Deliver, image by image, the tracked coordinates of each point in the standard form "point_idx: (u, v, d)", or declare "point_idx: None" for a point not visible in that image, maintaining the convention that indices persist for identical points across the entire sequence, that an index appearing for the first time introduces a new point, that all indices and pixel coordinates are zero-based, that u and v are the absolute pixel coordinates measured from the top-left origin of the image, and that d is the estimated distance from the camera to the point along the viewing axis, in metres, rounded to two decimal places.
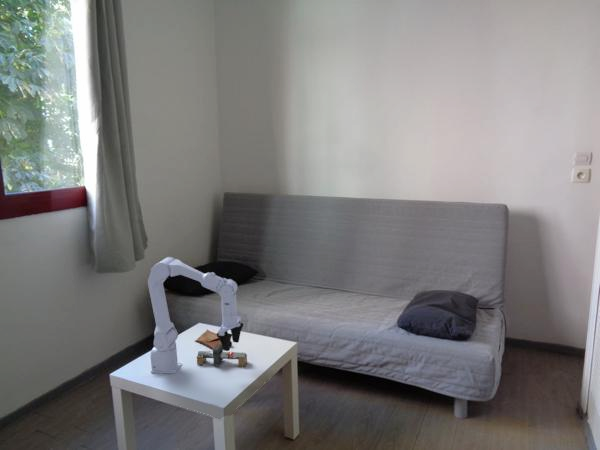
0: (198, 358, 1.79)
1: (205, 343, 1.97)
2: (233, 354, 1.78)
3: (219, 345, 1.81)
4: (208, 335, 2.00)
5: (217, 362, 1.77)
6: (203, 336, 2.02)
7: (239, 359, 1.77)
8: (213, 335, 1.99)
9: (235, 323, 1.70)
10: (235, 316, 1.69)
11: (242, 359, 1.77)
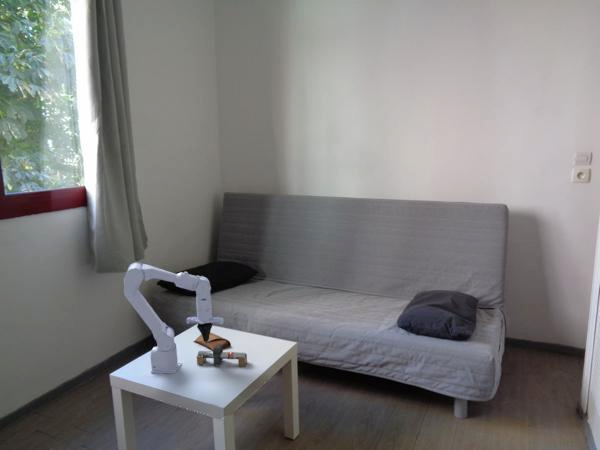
0: (198, 358, 1.79)
1: (203, 343, 1.97)
2: (233, 354, 1.78)
3: (219, 345, 1.81)
4: None
5: (217, 362, 1.77)
6: None
7: (239, 359, 1.77)
8: (212, 335, 1.99)
9: (200, 319, 1.76)
10: (200, 313, 1.75)
11: (242, 359, 1.77)
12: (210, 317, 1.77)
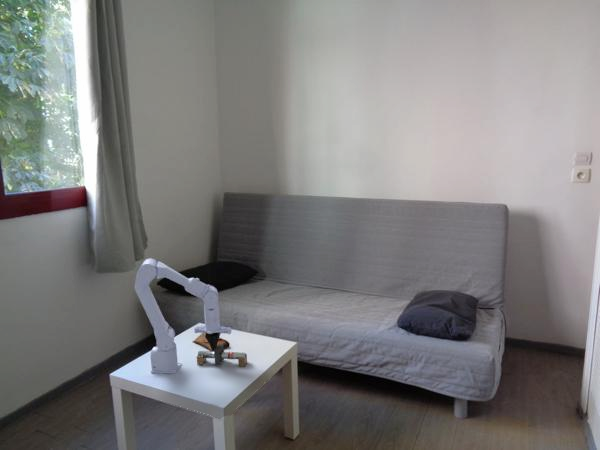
0: (198, 358, 1.79)
1: (202, 344, 1.96)
2: (233, 354, 1.78)
3: (220, 345, 1.81)
4: None
5: (218, 362, 1.77)
6: (201, 337, 2.01)
7: (239, 359, 1.77)
8: None
9: (208, 329, 1.76)
10: (208, 323, 1.75)
11: (242, 359, 1.77)
12: (218, 327, 1.77)
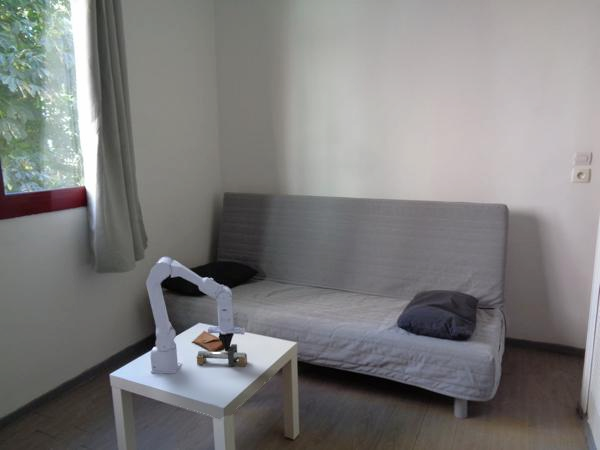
0: (198, 358, 1.79)
1: (201, 344, 1.96)
2: None
3: (234, 346, 1.80)
4: (205, 336, 1.99)
5: (232, 363, 1.77)
6: (200, 337, 2.01)
7: (239, 359, 1.77)
8: (210, 336, 1.98)
9: (222, 329, 1.75)
10: (222, 323, 1.74)
11: (242, 359, 1.77)
12: (231, 327, 1.76)
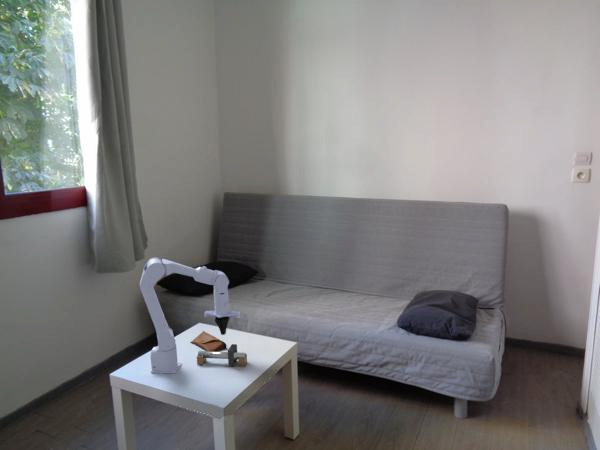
0: (198, 358, 1.79)
1: (199, 344, 1.96)
2: None
3: (234, 346, 1.80)
4: (203, 337, 1.99)
5: (232, 363, 1.77)
6: (199, 337, 2.01)
7: (239, 359, 1.77)
8: (208, 337, 1.98)
9: (218, 313, 1.79)
10: (218, 307, 1.79)
11: (242, 359, 1.77)
12: (227, 311, 1.80)
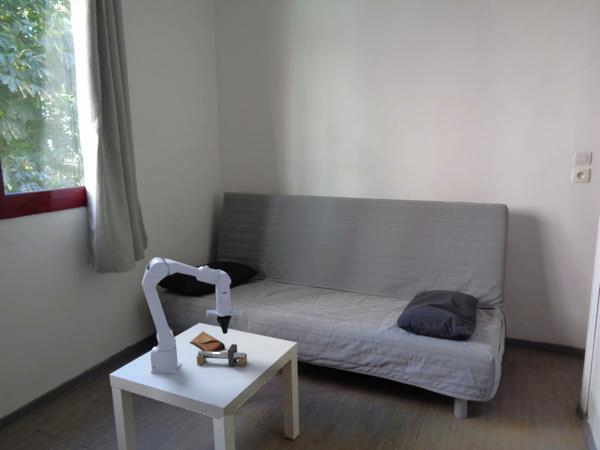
0: (198, 358, 1.79)
1: (198, 345, 1.95)
2: None
3: (234, 346, 1.80)
4: (202, 337, 1.98)
5: (232, 363, 1.77)
6: (198, 338, 2.01)
7: (239, 359, 1.77)
8: (207, 337, 1.98)
9: (220, 312, 1.80)
10: (220, 306, 1.80)
11: (242, 359, 1.77)
12: (229, 310, 1.82)
